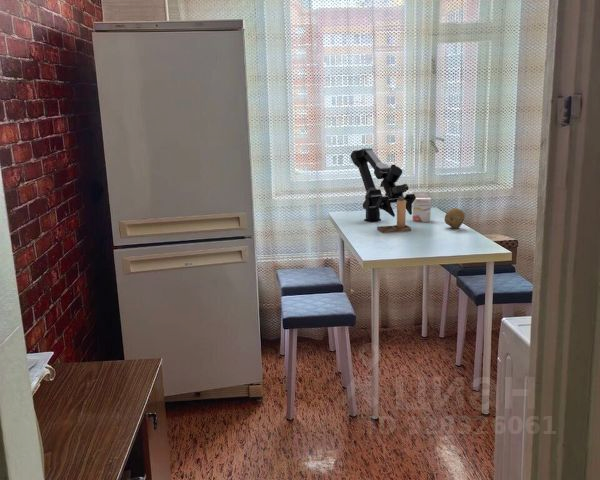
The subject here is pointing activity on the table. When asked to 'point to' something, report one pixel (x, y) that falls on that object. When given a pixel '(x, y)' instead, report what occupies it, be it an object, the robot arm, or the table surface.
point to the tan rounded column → (401, 212)
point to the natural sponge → (454, 218)
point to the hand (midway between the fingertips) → (402, 215)
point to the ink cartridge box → (422, 207)
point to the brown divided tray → (393, 229)
